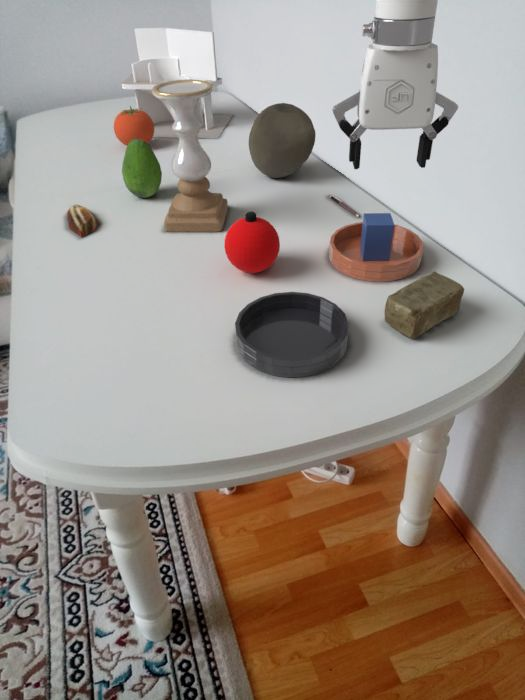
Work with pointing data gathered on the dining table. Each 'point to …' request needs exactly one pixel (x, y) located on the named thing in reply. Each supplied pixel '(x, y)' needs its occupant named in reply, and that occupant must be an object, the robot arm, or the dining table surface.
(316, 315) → the charcoal bowl
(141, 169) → the fruit
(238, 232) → the ornament
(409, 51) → the robot arm
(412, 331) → the stone block
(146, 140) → the tomato
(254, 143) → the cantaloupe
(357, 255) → the terracotta bowl
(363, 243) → the blue block
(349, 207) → the pen
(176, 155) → the candle holder
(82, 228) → the decorative stone
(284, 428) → the dining table surface
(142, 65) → the architectural model
